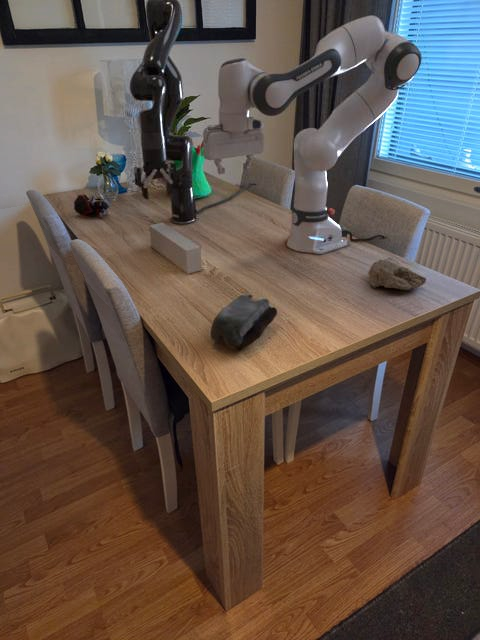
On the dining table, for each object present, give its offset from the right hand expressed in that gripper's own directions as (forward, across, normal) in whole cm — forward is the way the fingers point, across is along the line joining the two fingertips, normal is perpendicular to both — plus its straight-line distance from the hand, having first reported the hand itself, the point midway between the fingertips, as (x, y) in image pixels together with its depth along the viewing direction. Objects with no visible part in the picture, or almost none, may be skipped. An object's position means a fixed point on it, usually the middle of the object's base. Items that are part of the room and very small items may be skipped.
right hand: (234, 171), depth 137 cm
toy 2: (+29, +24, +75) cm, 84 cm away
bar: (+29, -16, +12) cm, 36 cm away
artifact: (+29, +30, -42) cm, 59 cm away
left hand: (+10, -16, +22) cm, 29 cm away
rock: (+29, -24, -41) cm, 56 cm away
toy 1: (+29, -26, +70) cm, 80 cm away
